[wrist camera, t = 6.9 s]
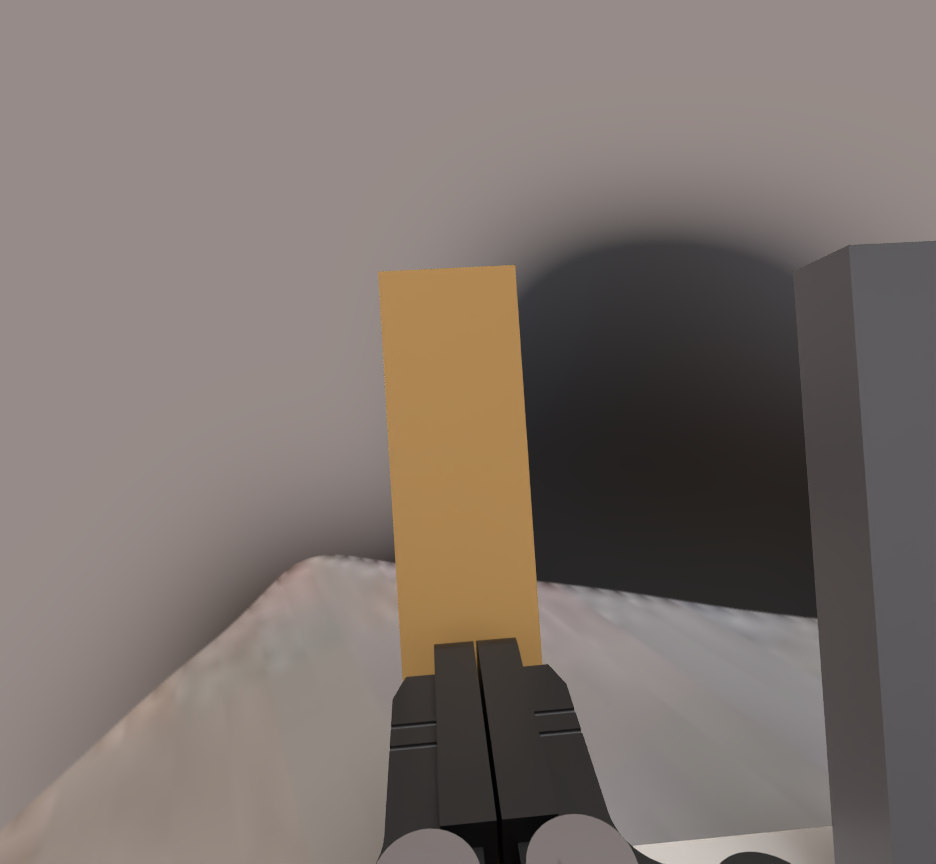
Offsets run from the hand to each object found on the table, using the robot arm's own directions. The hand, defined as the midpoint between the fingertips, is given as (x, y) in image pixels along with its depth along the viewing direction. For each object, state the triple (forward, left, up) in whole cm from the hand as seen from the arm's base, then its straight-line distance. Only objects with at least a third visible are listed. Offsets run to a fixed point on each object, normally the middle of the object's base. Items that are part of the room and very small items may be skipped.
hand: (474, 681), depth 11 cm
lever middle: (+1, +1, -6) cm, 6 cm away
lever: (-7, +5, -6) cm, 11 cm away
